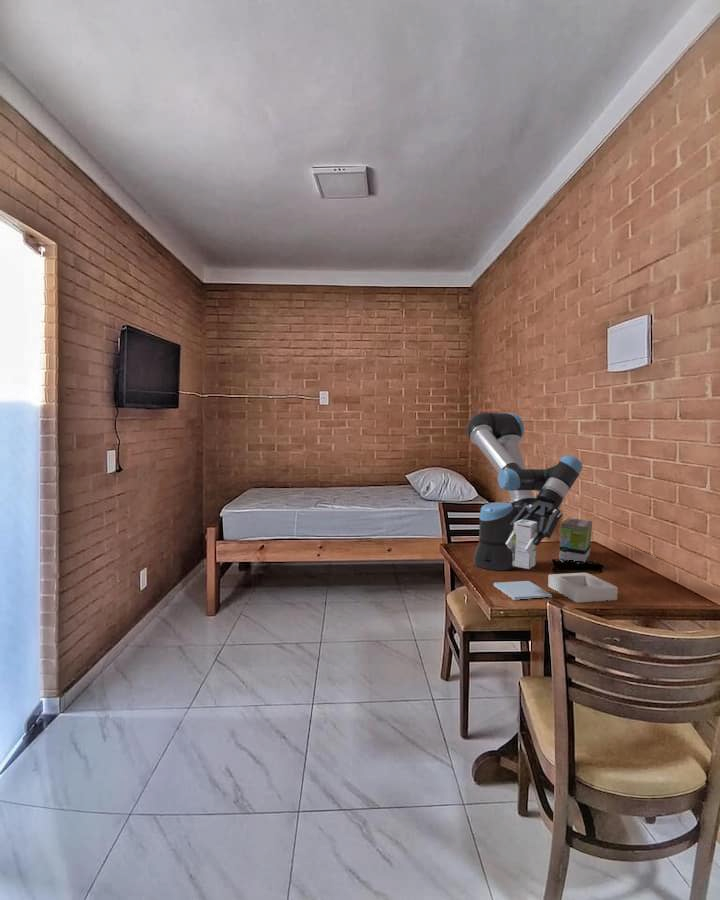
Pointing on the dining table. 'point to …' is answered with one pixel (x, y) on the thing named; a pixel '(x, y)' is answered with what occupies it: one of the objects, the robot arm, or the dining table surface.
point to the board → (522, 590)
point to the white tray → (582, 587)
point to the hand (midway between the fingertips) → (517, 549)
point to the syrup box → (523, 544)
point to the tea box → (575, 539)
